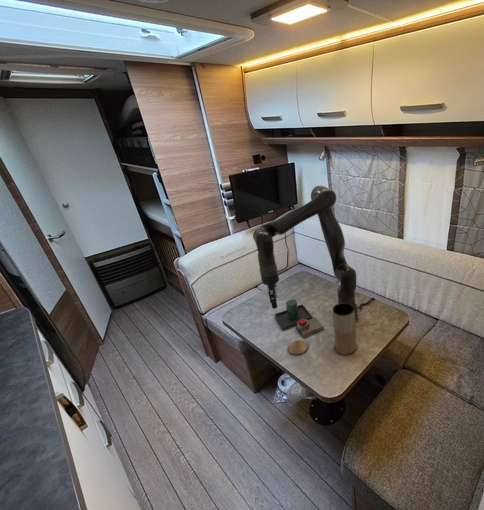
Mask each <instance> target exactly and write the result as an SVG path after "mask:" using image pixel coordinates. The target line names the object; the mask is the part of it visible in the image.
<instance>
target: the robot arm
mask: <svg viewBox="0 0 484 510" xmlns="http://www.w3.org/2000/svg"><path fill="white" fill-rule="evenodd" d="M336 202H337V195H336V192H335V191H334V190H333V189H331V188H329V187H327V186H325V185H324V186H323V185H316V186H315V187H313V188H312V190H311V192H310V200H309V201H308V202H307V203H305V204H303V205H301V206H298V207H296V208H293V209H291V210H289V211H285V212H284V213H283V214H281V215H279V216H278V217H276V218H275V219H274V220H272V221H270V222H266V223H265V224H262V225H260V226H259V227H257V228H256V229H255V230H254V231H253V233H252V239H253V241H254V242H255V245H256V248H257V249H256V250H257V260H258V265H259V266H258V267H259V273H260V278H261V283H262V285H265V286H267V288H266V289H267V294H268V297H269V303H270V304H271V308H272V309H277V308H278V303H277V298H278V295H277V283H279V281H280V277H279V271H278V265H277V262H276V257H275V256H276V255H275V253H274V251H275V247H274V246H275V245H274V237H275V236H282V235H284V234H286V233H288V232H289V231H291V230H292V229H294V228H295V227H297V226H298V225H300V224H302V223H303V222H305V221H306V220H309V219H310V218H312V217H314V216H316V215H317V217H318V220H319V225H320V228H321V231H322V235H323V239H324V242H325V246H326V248H327V251H328V254H329V257H330V260H331V265H332V270H333V274H334V275H333V276H334V277H335V278H336V279H337V280H338V281H339V282H340V285H339V286H338V287H337V304H339V303H350V304H352V305H353V306H354V308H355V321H356V320H358V309H360V310H362V306H366V305H369V303H370V302H371V301H372V300H375V299H376V297H371V298H370V299H368V301H367V302H364V303H360V304H359V306H358V304H356V289H357V280H358V279H357V278H358V277H357V271H356V270H355V269H354V268H353V267H352V266H350V265H349V264H348V262H347V261H346V257H345V247H346V240H345V236H344V233H343V229H342V227H341V225H340V223H339V222H338V220H337V218H336V217H335V214H334V211H333V209H332V208H333V206H335V204H336Z"/></svg>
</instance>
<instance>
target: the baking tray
mask: <svg viewBox="0 0 484 510" xmlns="http://www.w3.org/2000/svg"><path fill="white" fill-rule="evenodd" d="M297 306H298V314H299V318H298V319H296V320H289V319H288V313H287V309H285V310H283V311H279V312H277V313H275V314H274V317H275V319H276V320H277V322H278V324H279V326H280V327H281V329H282V330H283V331H286V330H287V329H288V330H289V329H290V328H294V327H297V322H298V321H299V320H300V319H306V320H310V319H313V316H312V314H311V312H309V311H308V309H307V308H306V307H305V306H304V304H300V305H297Z"/></svg>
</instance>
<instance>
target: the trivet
mask: <svg viewBox="0 0 484 510" xmlns="http://www.w3.org/2000/svg"><path fill="white" fill-rule="evenodd" d="M307 350H308V344H307V342H305V341H304V340H295V341H293V342H291V343H290V344H289V346H288V352H289V353H290V354H291V355H294V356H300V355H303V354H304V353H305V352H306V351H307Z"/></svg>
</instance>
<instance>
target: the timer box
mask: <svg viewBox="0 0 484 510" xmlns="http://www.w3.org/2000/svg"><path fill="white" fill-rule="evenodd" d="M305 320H306V319H305ZM296 328H297V329H298V331H299V332H300V334H301V335H302V337H303V338H307V337H309V336H312V335H314V334H316V333H319V332H321V331H323V330H324V325H322V323H321V322H320V321H319V320H318V318H317V317H312V319H310V320H306V324H305V325H300V324H299V321H298V322H297V325H296Z"/></svg>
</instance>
